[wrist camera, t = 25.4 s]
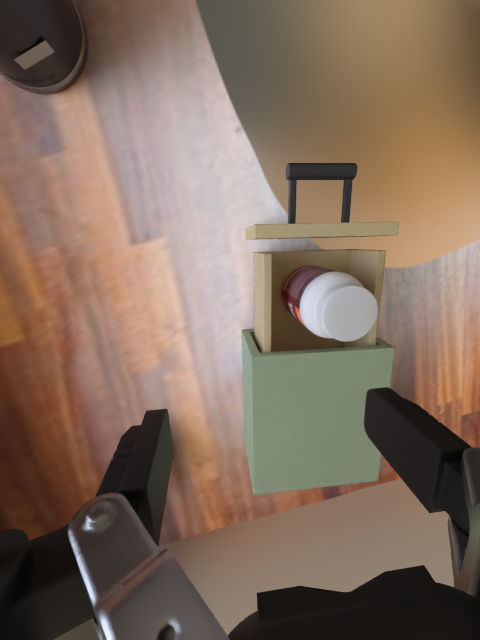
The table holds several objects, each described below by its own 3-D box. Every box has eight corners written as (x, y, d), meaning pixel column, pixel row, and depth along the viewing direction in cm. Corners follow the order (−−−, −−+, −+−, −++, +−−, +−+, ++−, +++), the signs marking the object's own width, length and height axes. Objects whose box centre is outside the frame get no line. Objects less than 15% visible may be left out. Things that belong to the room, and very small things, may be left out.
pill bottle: (268, 300, 33) (297, 328, 22) (297, 254, 32) (342, 259, 21) (311, 325, 34) (356, 362, 24) (340, 281, 33) (402, 300, 22)
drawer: (244, 174, 30) (254, 154, 23) (365, 174, 31) (407, 155, 25) (247, 357, 36) (256, 383, 29) (350, 350, 37) (380, 374, 30)
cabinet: (241, 329, 36) (251, 356, 27) (353, 323, 37) (395, 347, 28) (244, 441, 40) (253, 495, 32) (343, 432, 41) (377, 481, 33)
